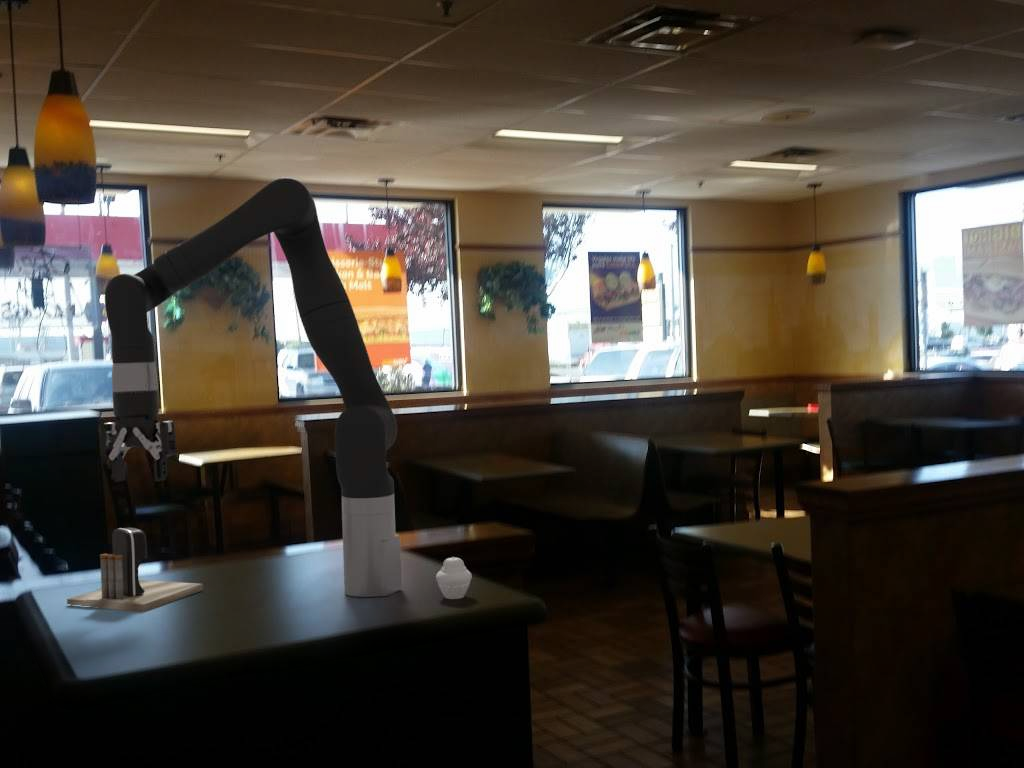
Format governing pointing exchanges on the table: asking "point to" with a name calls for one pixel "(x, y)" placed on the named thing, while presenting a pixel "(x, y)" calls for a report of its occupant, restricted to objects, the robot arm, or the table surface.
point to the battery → (130, 557)
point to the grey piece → (453, 578)
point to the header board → (115, 599)
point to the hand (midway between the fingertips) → (139, 480)
